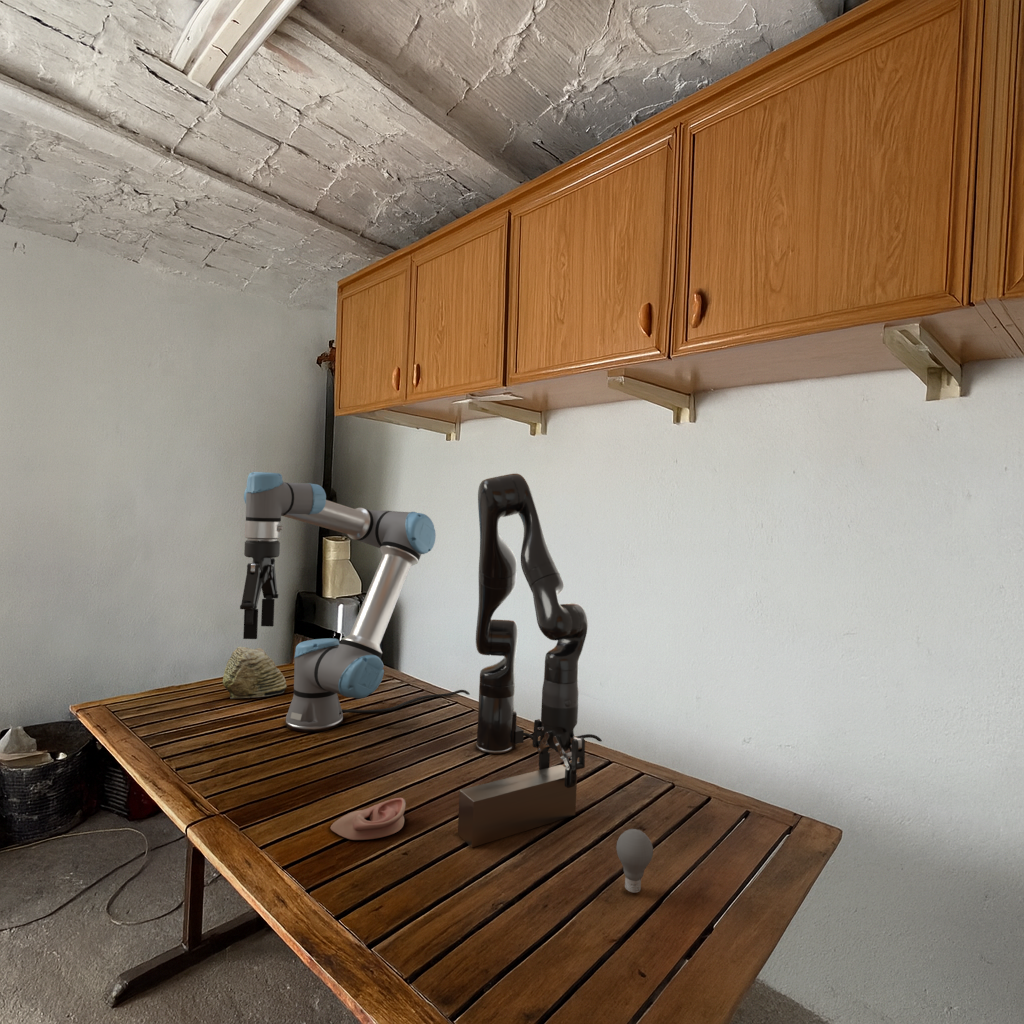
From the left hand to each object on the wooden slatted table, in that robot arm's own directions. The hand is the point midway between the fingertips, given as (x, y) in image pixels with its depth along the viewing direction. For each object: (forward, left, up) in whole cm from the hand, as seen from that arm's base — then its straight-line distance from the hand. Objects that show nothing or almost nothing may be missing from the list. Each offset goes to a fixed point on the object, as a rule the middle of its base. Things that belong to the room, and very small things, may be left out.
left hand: (259, 632), depth 145 cm
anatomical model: (-2, +39, -32) cm, 50 cm away
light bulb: (-18, +87, -32) cm, 95 cm away
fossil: (-28, -49, -32) cm, 65 cm away
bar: (-23, +60, -32) cm, 71 cm away
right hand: (-31, +63, -24) cm, 74 cm away
